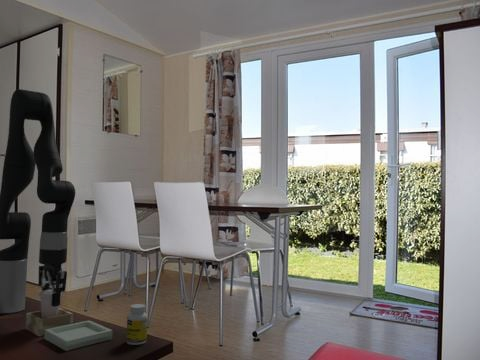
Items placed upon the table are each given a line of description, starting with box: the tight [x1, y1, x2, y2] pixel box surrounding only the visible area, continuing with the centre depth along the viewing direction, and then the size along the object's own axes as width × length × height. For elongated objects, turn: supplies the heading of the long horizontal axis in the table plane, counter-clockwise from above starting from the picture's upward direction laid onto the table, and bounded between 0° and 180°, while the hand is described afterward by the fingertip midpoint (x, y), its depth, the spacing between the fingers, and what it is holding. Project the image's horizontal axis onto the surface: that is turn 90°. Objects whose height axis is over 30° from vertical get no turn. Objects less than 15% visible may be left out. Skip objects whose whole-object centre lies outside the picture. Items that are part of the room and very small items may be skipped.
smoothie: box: [38, 288, 64, 319], centre depth 121 cm, size 6×6×14 cm
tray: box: [43, 320, 114, 352], centre depth 113 cm, size 13×13×2 cm
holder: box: [25, 307, 74, 337], centre depth 121 cm, size 10×10×4 cm
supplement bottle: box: [126, 303, 149, 346], centre depth 112 cm, size 5×5×10 cm
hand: (50, 303), depth 121 cm, fingers closed on smoothie, 6 cm apart
